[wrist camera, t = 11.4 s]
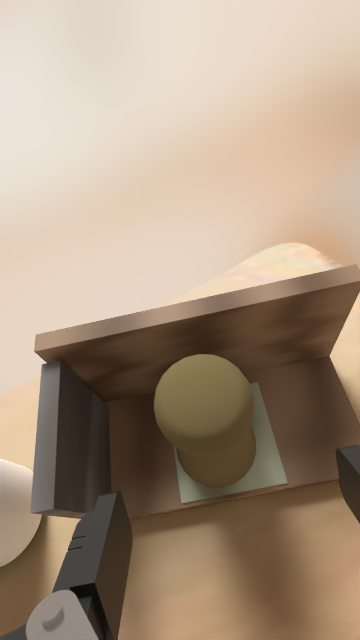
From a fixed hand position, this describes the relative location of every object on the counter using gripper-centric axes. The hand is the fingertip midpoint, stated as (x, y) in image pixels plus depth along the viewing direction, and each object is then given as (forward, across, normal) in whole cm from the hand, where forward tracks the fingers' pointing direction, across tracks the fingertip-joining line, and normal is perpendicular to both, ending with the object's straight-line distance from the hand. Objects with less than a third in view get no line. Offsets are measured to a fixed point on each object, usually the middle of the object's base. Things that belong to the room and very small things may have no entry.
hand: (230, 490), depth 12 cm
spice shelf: (+14, 0, +6) cm, 16 cm away
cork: (+12, 0, +6) cm, 14 cm away
